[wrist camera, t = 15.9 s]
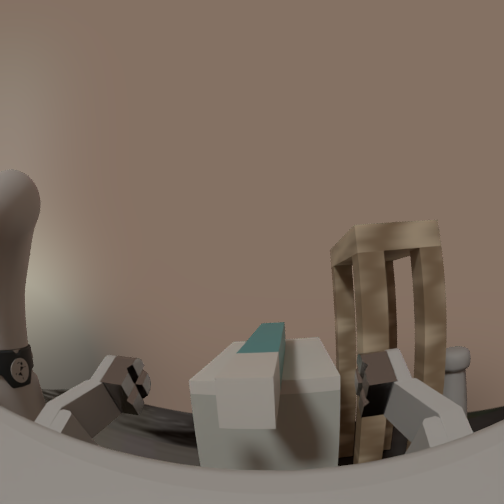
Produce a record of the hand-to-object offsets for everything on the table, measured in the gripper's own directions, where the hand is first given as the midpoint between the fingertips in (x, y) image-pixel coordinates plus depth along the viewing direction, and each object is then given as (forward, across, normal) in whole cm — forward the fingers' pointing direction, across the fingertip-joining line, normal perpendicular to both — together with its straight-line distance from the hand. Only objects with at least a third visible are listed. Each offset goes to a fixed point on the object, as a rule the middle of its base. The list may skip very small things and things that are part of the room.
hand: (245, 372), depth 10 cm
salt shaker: (+8, +21, -27) cm, 35 cm away
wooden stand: (+6, +10, -25) cm, 27 cm away
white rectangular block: (+5, 0, -24) cm, 25 cm away
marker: (+8, 0, -8) cm, 11 cm away
